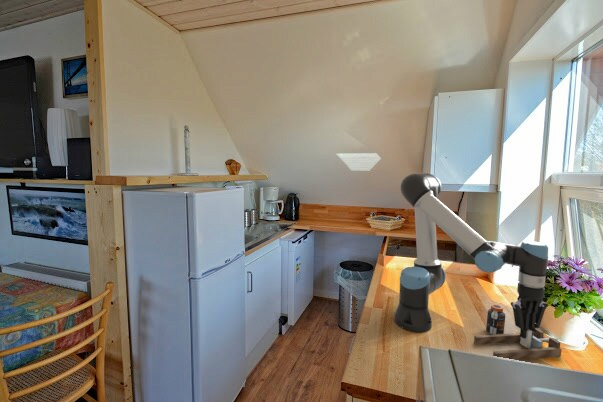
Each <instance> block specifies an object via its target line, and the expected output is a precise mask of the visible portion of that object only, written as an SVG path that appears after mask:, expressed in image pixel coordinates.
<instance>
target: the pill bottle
mask: <svg viewBox="0 0 603 402" xmlns="http://www.w3.org/2000/svg"><path fill="white" fill-rule="evenodd" d="M505 323H506V314H505V312H504V307H503V306H501V305H499V304H496V303H495V304H494V303H493V304H491V306H490V308H489V309H488V310H487V317H486V329H485V330H486V331H487V333H489V335H496V334H505V326H506V325H505Z"/></svg>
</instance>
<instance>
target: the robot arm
mask: <svg viewBox="0 0 603 402" xmlns="http://www.w3.org/2000/svg"><path fill="white" fill-rule="evenodd" d="M441 182H442V181H440V179H439V178H438V177H437V176H436V175H434V174H431V173H428V172H427V173H411V174H409V175H407V176H405V177H404V178H403V179H402V181H401V182H400V183H401V184H400V192H401V195H402V197H403V198H404V199H405V200H406V202H408V203H409V204H410V205H411V206H412V207H413V208H414V222H415V223H414V224H415V225H414V226H415V242H416V244H415V245H416V258H415V260H413V266H408V267H405V268H403V269H402V270H401V272H400V275H399V300H398V305H397V307H396V310H395V312H394V315H393V316H394V318H393V320H395V321H394V322H395V324H396V323H397V324H398V325H397V324H396V325H397V326H399V327H400V326H401V327H400V328H402V327H403V328H402V329H404V328H405V329H404V330H406V329H407V330H406V331H409V330H410V332H413V331H414V333H425V332H428V331H430V330H431V329H432V324H433V323H432V321H433V320H432V317H431V313H430V311H429V298H430V296H431V294H432V293H434V292H435V291H438V290H439V289H440V288H441V287H443V285H444V284H445V283H446V278H447V276H446V275H447V273H446V271H445V269H444V268H443V267H442V261H441V260H440V259H439V258H438V245H437V244H438V243H437V240H438V239H437V227H439V228H440V229H441V230H442V231H443V232H444V233H445V234H446V235H447V236H448V237H450V238H451V239H452V240H453V241H454V242H455V243H456V244H457V245H458V246H459V247H461V248H462V249H463V250H464V251H465V252H466V253H467V254H468V255H469V256H470V257H471V258H472V259H473V260H474V264H475V266H476V268H477V269H478V270H479V271H481V272H483V273H487V274H492V273H495V272H497V271H499V270H501V269H502V267H503V266H504V265H505V264H506V265H510V266H515V267H516V266H517V267H519V269H518V278H517V281H518V282H517V290H516V291H517V294H518V297H517V299H516V301H515V302H514V301H511V302H510V305H511V307H512V311H513V312H512V313H513V319H514V325H515V326H516V327H517V328H519V329H520V332H519V333H520V336H521V342H519V343H520V344H521V345H522V346H523V347H525V349H529V348H531V338H532V337H533V331H534V332H536V331H537V330H536V329H535V328H537V329H540V327H541V326H540V325H541V323H542V320H543V317H544V313H545V312H546V309H547V308H548V306H549V303H547V302H544V301H543V298H545V289H546V288H545V287H546V277H547V271H548V269H547V268H548V263H549V262H548V261H549V246H548V245H547V244H545V243H544V242H539V241H533V240H524V241H521V244H520V245H518V244H511V243H504V242H499V241H492V240H486V239H485V238H483V237H482V235H480V234H479V233H478V232H477V231H475V230H474V229H473V228H472V227H470V226H469V225H468V224H467V223H466V222H465V221H464V220H462V219H461V218H460V217H459V216H458V215H457V214H455V212H453V211H452V210H451V209H450V208H448V206H446V205H445V204H444V203H443V202H442V201H440V200H439V195H440V193H441V191H442V183H441ZM436 226H437V227H436Z"/></svg>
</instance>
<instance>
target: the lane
mask: <svg viewBox="0 0 603 402" xmlns="http://www.w3.org/2000/svg"><path fill="white" fill-rule="evenodd" d="M535 329H536V330H537V331H536V332H534V331H533V336H535V337H536V338H538V339H542V338H544V335H545V334H544V333H545V332H543V331H542V330H540V328H538V329H537V328H535ZM520 337H521V336H520V332H516V333H515V332H512V333H504V334H496V335H492V334H483V335H474V339H473V344H474V345H475V346H482V345H498V344H510V343H511V344H513V343H520ZM548 338H549V342H548V346H547V347H542V348H534V349H529V348H523V349H521V348H520V349H511V350H496V351H494V350H493V352H492V357H493V356H497V357H503V358H509V359H515V360H514V361H519V360H521V361H522V360H524V361H525V360H535V359H548V358H549V357H550V358H560V356H562V350H563V349H562V348H561V341H559V340H558V341H557V340H555V339H554V338H555V337H548ZM543 343H544V342H542V345H543Z"/></svg>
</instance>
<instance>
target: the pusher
mask: <svg viewBox="0 0 603 402" xmlns="http://www.w3.org/2000/svg"><path fill="white" fill-rule="evenodd" d="M549 338H550V337H543V338H542V339H538V338H536V337H535V336H533V337H532V338H531V348H528V349H534V348H543V344H542V342H543V343H549ZM553 338H554V339H555V340H557V341H559V338H557V337H553ZM520 342H521V337H520ZM520 342H519V343H520Z"/></svg>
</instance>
